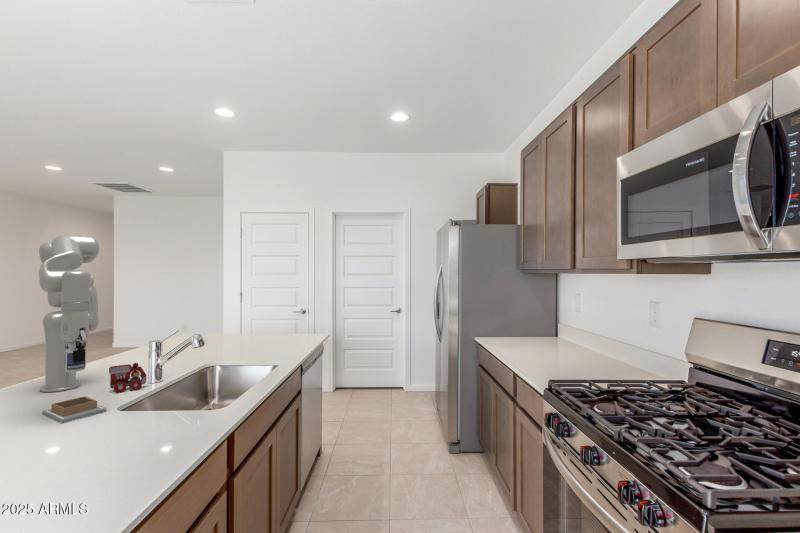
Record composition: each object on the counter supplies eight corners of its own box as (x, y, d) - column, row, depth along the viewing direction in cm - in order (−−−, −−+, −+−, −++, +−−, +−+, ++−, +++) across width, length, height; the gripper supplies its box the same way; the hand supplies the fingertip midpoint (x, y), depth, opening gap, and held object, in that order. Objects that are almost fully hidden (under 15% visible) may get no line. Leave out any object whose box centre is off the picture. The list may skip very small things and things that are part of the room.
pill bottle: (89, 369, 131) (89, 340, 131) (71, 373, 126) (71, 343, 126) (78, 368, 133) (79, 340, 133) (60, 371, 128) (61, 342, 128)
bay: (42, 413, 128) (42, 403, 128) (85, 403, 138) (85, 393, 138) (61, 423, 120) (62, 412, 120) (106, 411, 130) (106, 401, 130)
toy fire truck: (147, 388, 156) (147, 363, 156) (109, 394, 148) (109, 368, 148) (145, 384, 161) (145, 360, 162) (108, 390, 154) (108, 364, 154)
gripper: (51, 307, 131) (50, 360, 131) (72, 309, 122) (72, 366, 122) (78, 305, 137) (77, 355, 137) (100, 307, 129) (100, 361, 128)
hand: (75, 360), depth 129 cm, fingers closed on pill bottle, 5 cm apart
